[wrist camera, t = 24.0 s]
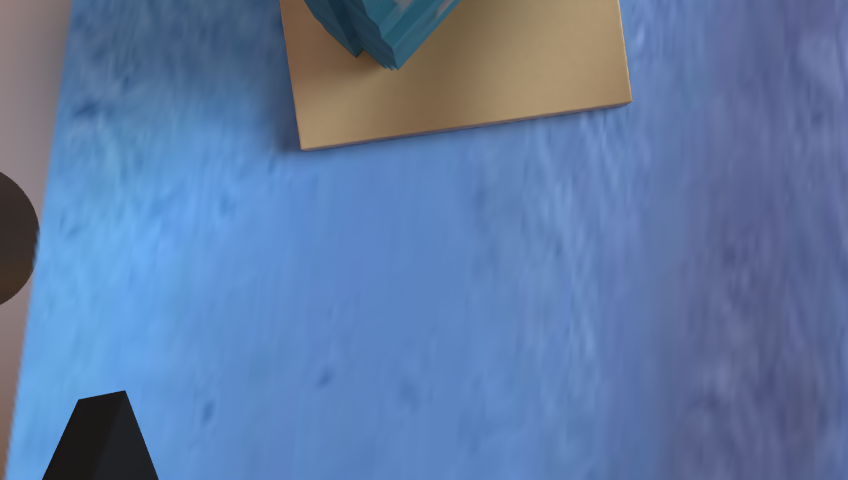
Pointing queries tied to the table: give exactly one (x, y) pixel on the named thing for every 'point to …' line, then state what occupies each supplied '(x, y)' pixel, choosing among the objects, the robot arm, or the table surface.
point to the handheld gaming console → (381, 25)
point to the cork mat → (459, 71)
